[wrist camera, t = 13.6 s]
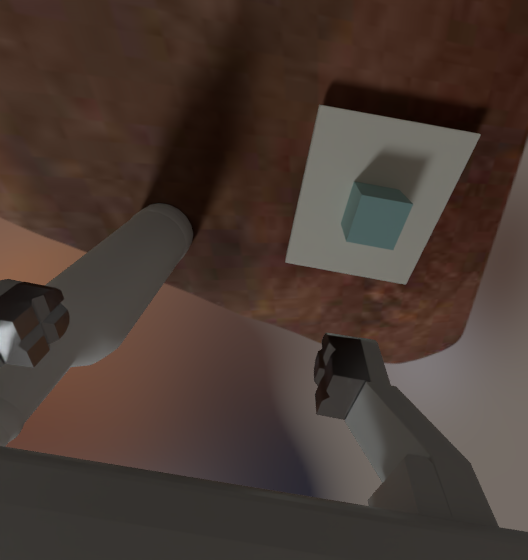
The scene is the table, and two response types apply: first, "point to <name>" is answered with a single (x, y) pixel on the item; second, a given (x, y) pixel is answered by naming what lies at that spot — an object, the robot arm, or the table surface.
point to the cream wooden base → (376, 171)
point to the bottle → (98, 305)
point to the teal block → (375, 215)
